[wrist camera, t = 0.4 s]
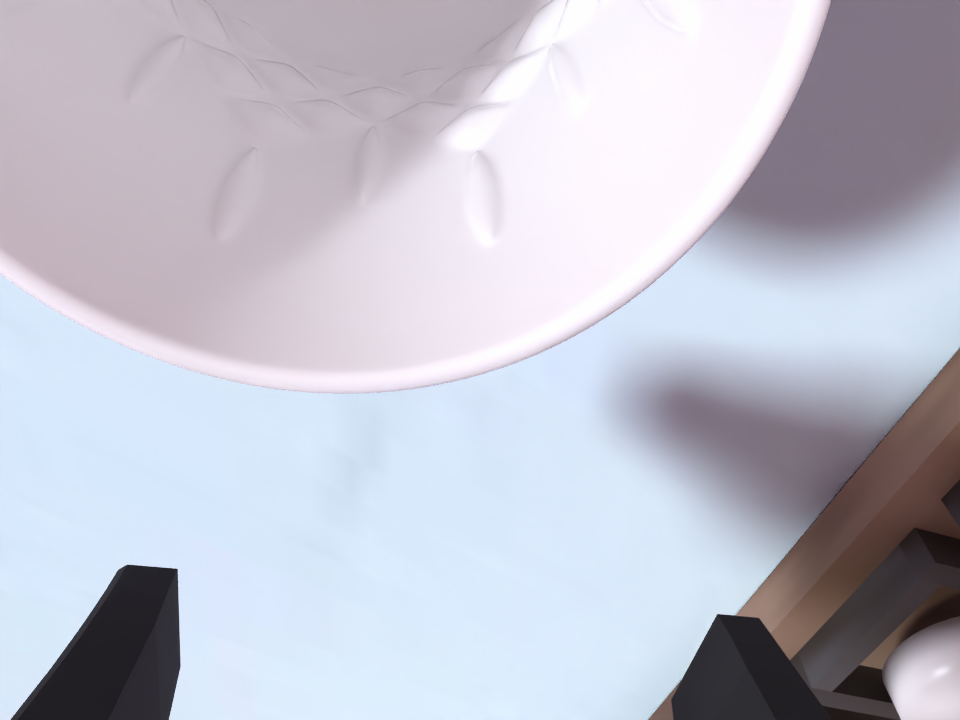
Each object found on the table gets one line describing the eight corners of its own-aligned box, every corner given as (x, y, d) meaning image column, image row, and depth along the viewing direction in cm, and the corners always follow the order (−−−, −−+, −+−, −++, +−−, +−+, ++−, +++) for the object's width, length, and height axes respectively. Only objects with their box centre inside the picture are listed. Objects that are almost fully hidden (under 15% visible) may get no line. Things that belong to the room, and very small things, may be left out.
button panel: (837, 775, 33) (865, 848, 31) (630, 741, 31) (645, 816, 29) (1318, 351, 22) (1417, 420, 20) (1041, 250, 20) (1117, 314, 17)
